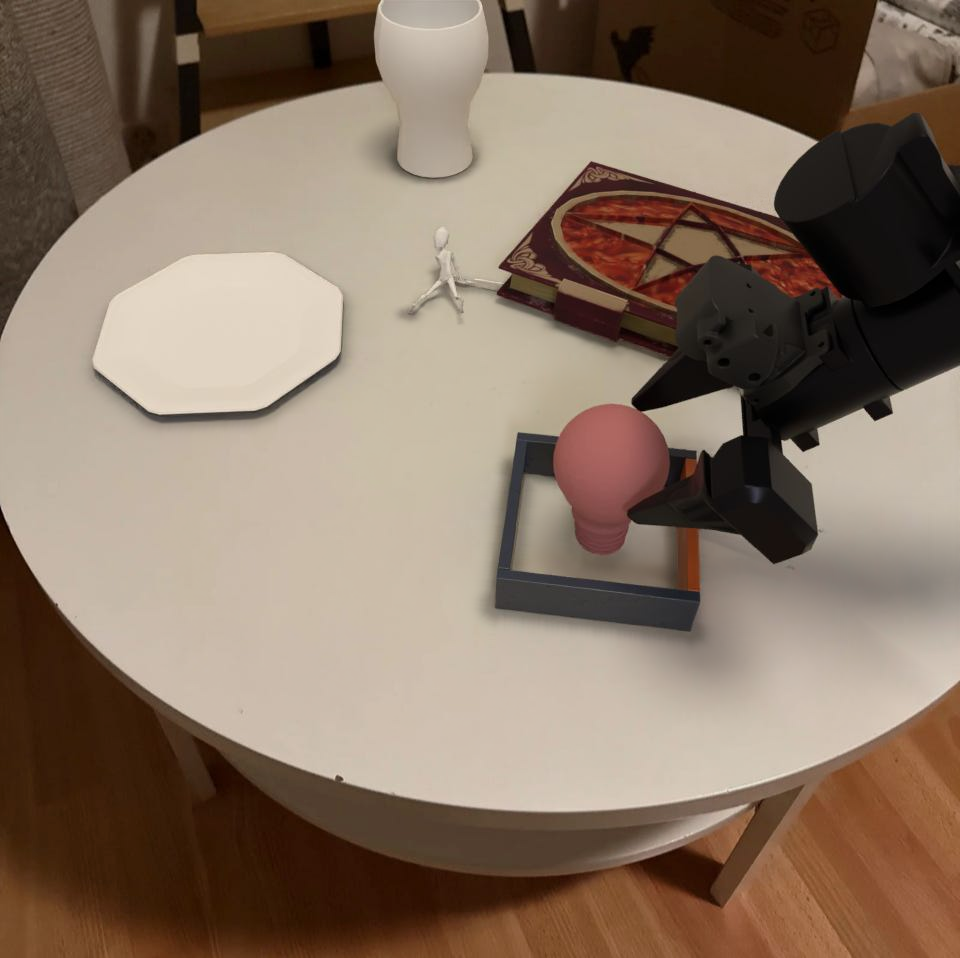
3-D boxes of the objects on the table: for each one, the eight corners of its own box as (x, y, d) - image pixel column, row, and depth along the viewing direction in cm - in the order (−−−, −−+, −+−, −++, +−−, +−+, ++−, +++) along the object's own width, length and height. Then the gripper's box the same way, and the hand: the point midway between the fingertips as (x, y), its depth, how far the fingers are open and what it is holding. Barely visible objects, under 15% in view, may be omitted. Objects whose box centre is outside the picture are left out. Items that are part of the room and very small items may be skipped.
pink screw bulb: (564, 595, 61) (581, 478, 51) (531, 513, 65) (542, 391, 56) (664, 572, 62) (698, 453, 53) (626, 492, 66) (651, 370, 57)
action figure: (546, 342, 78) (562, 276, 82) (543, 301, 74) (559, 232, 77) (412, 328, 81) (432, 264, 84) (400, 287, 76) (422, 221, 79)
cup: (497, 179, 92) (501, 26, 81) (392, 192, 91) (381, 38, 79) (473, 125, 99) (474, -23, 87) (375, 137, 97) (363, -13, 86)
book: (875, 276, 84) (896, 229, 80) (818, 420, 71) (839, 372, 67) (588, 188, 92) (595, 141, 88) (491, 303, 79) (494, 254, 75)
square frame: (687, 482, 67) (696, 450, 64) (690, 632, 59) (700, 602, 56) (515, 464, 68) (517, 431, 65) (494, 608, 60) (495, 578, 57)
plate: (204, 464, 68) (199, 451, 67) (55, 345, 76) (49, 331, 75) (392, 332, 78) (391, 319, 77) (242, 239, 86) (239, 225, 85)
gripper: (781, 134, 49) (559, 281, 59) (817, 372, 37) (531, 509, 47) (881, 268, 55) (663, 383, 64) (939, 513, 43) (661, 611, 52)
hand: (633, 458), depth 57 cm, fingers open, 9 cm apart
